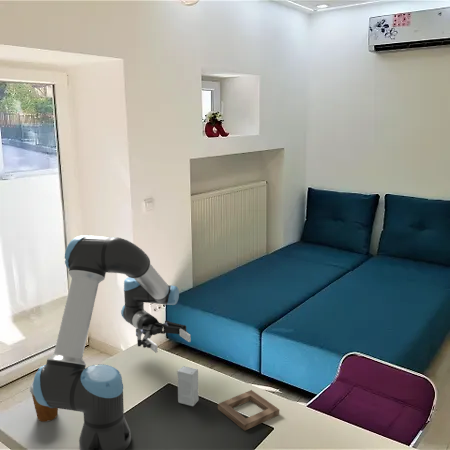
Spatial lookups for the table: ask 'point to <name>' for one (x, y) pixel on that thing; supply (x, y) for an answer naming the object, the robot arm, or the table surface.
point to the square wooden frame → (254, 420)
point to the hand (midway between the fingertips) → (173, 343)
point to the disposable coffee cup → (43, 409)
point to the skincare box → (187, 386)
